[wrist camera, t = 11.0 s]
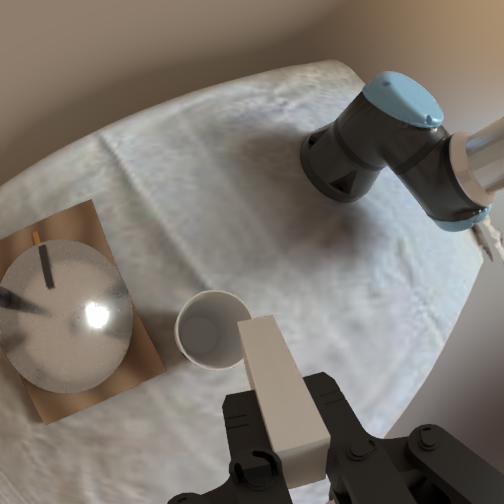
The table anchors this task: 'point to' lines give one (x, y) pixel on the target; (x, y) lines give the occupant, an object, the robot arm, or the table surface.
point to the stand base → (141, 347)
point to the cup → (211, 329)
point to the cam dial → (64, 316)
